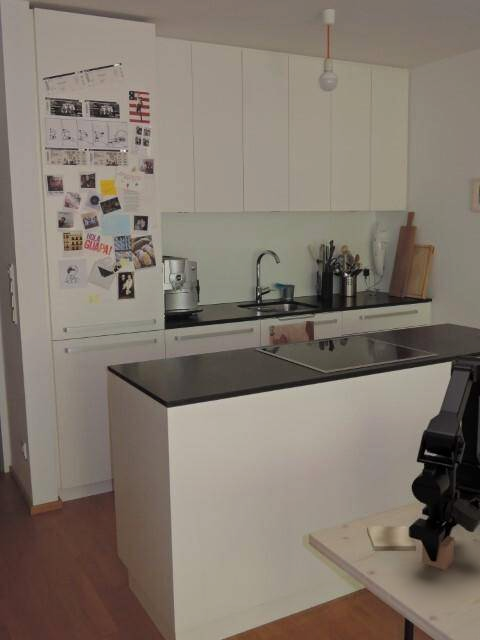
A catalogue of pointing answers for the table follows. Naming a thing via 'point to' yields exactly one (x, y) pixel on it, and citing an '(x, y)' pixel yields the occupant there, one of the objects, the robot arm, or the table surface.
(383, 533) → the coaster
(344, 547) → the table surface
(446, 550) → the cube
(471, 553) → the table surface
